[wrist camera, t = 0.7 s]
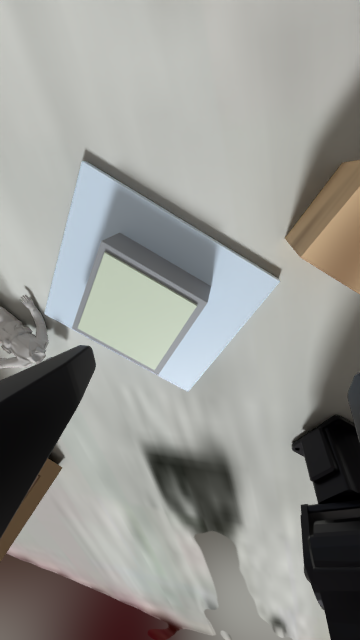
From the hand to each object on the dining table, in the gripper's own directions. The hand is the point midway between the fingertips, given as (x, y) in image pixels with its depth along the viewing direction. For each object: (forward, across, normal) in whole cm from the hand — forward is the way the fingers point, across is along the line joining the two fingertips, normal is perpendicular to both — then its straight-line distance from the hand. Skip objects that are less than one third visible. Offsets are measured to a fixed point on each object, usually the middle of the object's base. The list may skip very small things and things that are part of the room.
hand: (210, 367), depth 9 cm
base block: (+12, +6, +3) cm, 14 cm away
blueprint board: (+12, +6, +3) cm, 14 cm away
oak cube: (+12, -7, -3) cm, 15 cm away
